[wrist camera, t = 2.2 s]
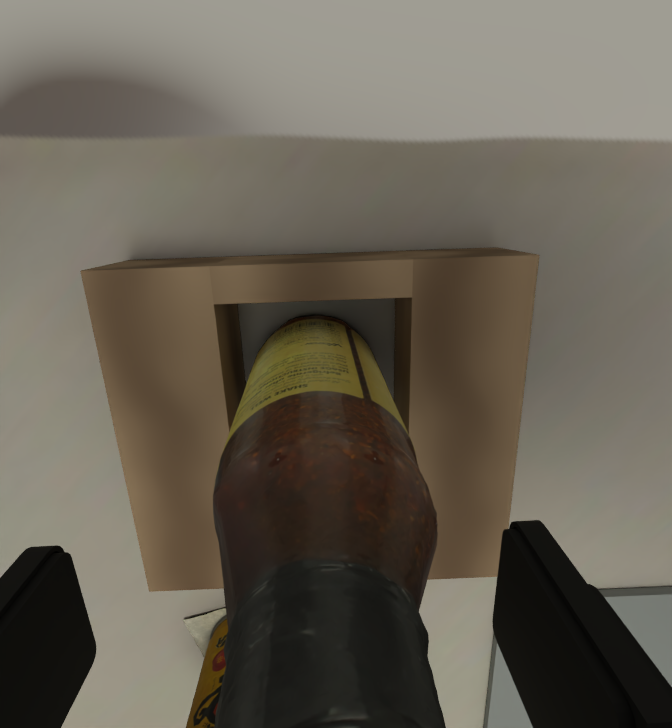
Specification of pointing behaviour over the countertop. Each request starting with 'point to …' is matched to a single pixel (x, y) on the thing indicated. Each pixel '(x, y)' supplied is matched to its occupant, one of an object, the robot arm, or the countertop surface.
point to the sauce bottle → (323, 543)
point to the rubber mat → (640, 615)
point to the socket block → (227, 384)
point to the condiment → (208, 666)
